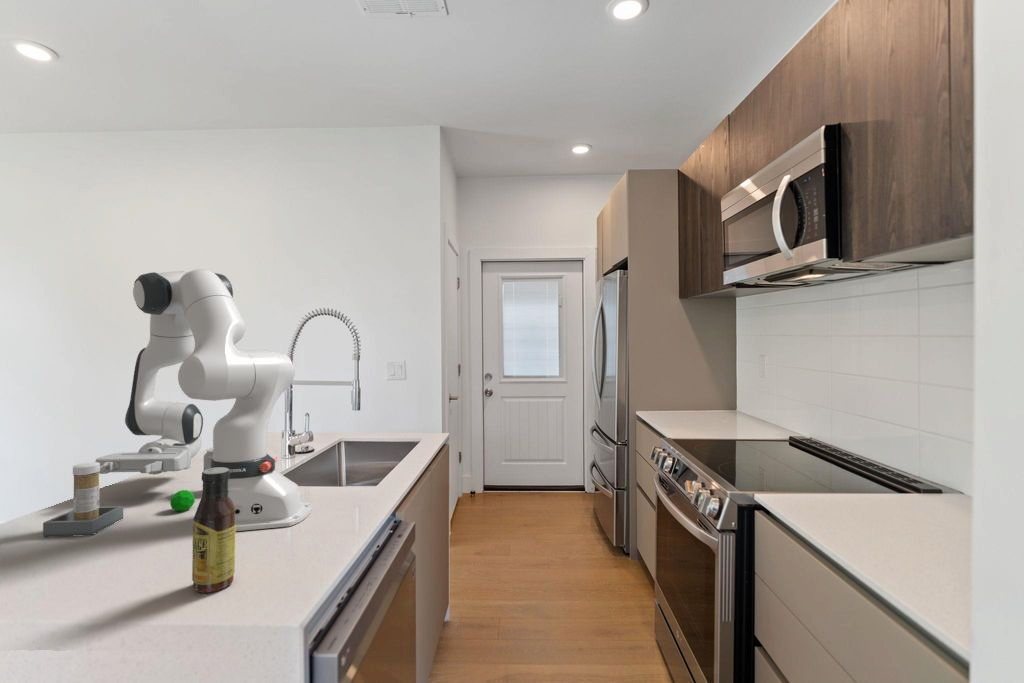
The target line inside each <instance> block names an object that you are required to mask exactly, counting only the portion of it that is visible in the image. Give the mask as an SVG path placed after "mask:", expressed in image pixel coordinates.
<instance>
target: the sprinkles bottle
mask: <svg viewBox="0 0 1024 683" xmlns="http://www.w3.org/2000/svg"><path fill="white" fill-rule="evenodd" d="M99 471H100V463H98V462H95V461H89V462H87V461H86V462H81V463H76V464H74V465H73V466H72V475H73V500H72V501H73V502H72V508H73V509H72V510H73V512H74V521H80V520H92V519H95V518H97V517H99V507H100V474H99Z"/></svg>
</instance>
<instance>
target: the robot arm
mask: <svg viewBox="0 0 1024 683" xmlns="http://www.w3.org/2000/svg"><path fill="white" fill-rule="evenodd" d="M132 295H133V300H134V302H135V305H136V306H137V308H138V309H139V310H140V311H142V312H143V313H144V314H146V315H147V314H148V315H150V317H149V318H150V319H149V341H148V344H147V346H146V347H144V348H142V349H141V350H140V351H139V353H138V355H137V357H136V362H135V367H134V371H133V377H132V386H131V393H130V399H129V405H128V408H127V409H126V414H125V416H124V424H125V426H126V427H127V429H128V430H129V432H131V433H132V434H133V435H135V436H157V437H159V436H160V438H159V439H155V440H153V441H150V442H147V443H145V444H143V445H142V446H141V447H139V450H138V452H137V451H133V452H117V453H116V452H115V453H111V454H107V455H103V456H100V457H97V458H95V461H94V462H98V463H100V471H99V475H103V474H104V475H107V474H109V473H135V472H136V473H140V474H148V475H160V474H162V473H167V472H180V471H182V470H188V469H189V468H191V465H192V459H193V458H195V456H196V455H197V454H198V453H199V451H200V450H201V448H202V444H203V443H202V441H203V440H202V438H201V433H202V431H203V426H204V417H203V415H202V414H203V413H201V410H200V409H199V408H198V406H197V405H195V404H193V403H186V402H185V403H184V402H172V401H159V400H157V399H156V398H155V397H154V395H155V385H156V379H157V373H158V372H159V370H161V369H163V368H168V367H170V366H171V367H172V366H175V365H177V364H181V365H180V366H179V370H178V372H177V373H178V374H177V381H178V385H179V388H180V389H181V391H182V393H184V395H185V396H187V397H188V398H190V399H194V400H200V401H201V400H202V401H222V400H223V401H224V400H231V399H235V401H234V403H233V406H232V408H231V409H230V411H229V412H228V413H227V414H225V415H224V416H222V417H221V418H219V419H218V420H217V421H216V423H215V424H214V426H213V430H212V439H213V440H212V448H213V459H212V460H211V468H216V467H225V468H228V469H229V471H230V476H229V479H228V491H229V493H228V496H229V498H230V499H231V500H232V502H233V504H234V506H235V522H236V529H235V532H240V531H250V530H253V531H254V530H262V529H263V530H264V529H273V528H274V529H276V528H285V527H292V526H294V525H297V524H298V523H301V522H302V521H303V520H305V519H306V518H307V517H308V516H309V515H310V514H311V512H312V505H311V503H310V502H304V501H303V500H302V493H301V490H300V487H299V485H298V484H297V483H296V482H294V481H292V480H291V479H290V478H288V477H286V476H284V475H283V474H282V473H280V472H279V471H277V470H276V463H277V462H278V460H277V459H278V456H274V458H273V457H272V456H271V455H269V454H268V453H267V452H268V451H267V450H268V449H267V448H268V431H269V430H268V429H269V422H270V421H269V420H270V416H271V414H272V412H273V409H274V406H275V404H276V403H277V401H278V400H279V398H280V397H281V395H282V394H283V393H284V392H286V390H287V389H289V388H290V387H291V385H292V383H293V382H294V378H295V367H294V363H293V361H292V360H291V358H290V357H289V356H288V355H287V354H285V353H282V352H278V351H272V350H267V349H265V350H264V349H263V350H239V349H237V347H236V346H235V345H236V344H237V343H239V342H240V341H241V340H242V339H243V337H244V335H245V332H246V322H245V320H244V319H243V316H242V314H241V312H240V310H239V308H238V306H237V304H236V302H235V300H234V298H233V297H234V290H233V286H232V284H231V281H230V280H229V279H228V277H227V276H226V275H223V274H222V273H217V272H213V271H211V270H208V269H201V268H199V269H193V270H190V271H181V270H180V271H166V272H164V271H163V272H158V273H157V272H155V271H154V272H153V271H152V272H148V273H143V274H141V275H138V277H137V278H135V281H134V282H133V288H132Z"/></svg>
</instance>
